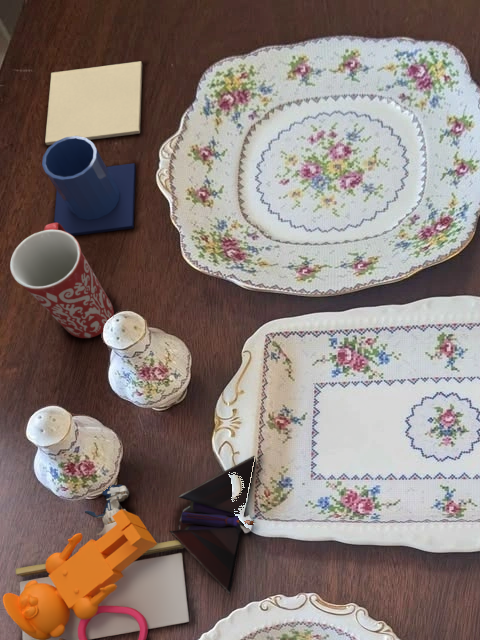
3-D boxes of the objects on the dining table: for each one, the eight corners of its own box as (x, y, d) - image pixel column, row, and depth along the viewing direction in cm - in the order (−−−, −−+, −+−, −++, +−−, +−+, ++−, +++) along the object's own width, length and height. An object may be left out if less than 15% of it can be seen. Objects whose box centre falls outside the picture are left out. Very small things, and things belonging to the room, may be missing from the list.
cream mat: (46, 145, 125) (44, 142, 124) (53, 75, 130) (51, 72, 130) (140, 133, 124) (138, 130, 124) (142, 64, 130) (141, 61, 129)
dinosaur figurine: (151, 547, 97) (136, 483, 103) (126, 535, 94) (113, 470, 99) (116, 567, 98) (104, 504, 104) (91, 557, 95) (79, 491, 100)
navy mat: (54, 238, 118) (52, 235, 117) (59, 175, 122) (57, 172, 122) (133, 228, 118) (132, 225, 117) (135, 165, 122) (134, 163, 122)
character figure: (188, 448, 101) (268, 455, 100) (193, 457, 103) (271, 464, 103) (156, 584, 94) (242, 592, 93) (163, 590, 96) (246, 598, 96)
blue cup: (69, 225, 119) (40, 182, 110) (72, 184, 122) (44, 139, 113) (120, 218, 118) (95, 175, 110) (122, 178, 121) (97, 132, 113)
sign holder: (22, 570, 98) (26, 651, 96) (14, 568, 97) (19, 651, 94) (185, 541, 98) (193, 621, 96) (180, 539, 97) (189, 620, 94)
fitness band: (78, 653, 94) (73, 653, 93) (84, 603, 95) (79, 603, 94) (145, 657, 94) (141, 658, 93) (151, 608, 95) (147, 607, 94)
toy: (175, 562, 95) (143, 550, 88) (57, 657, 95) (15, 654, 87) (135, 504, 98) (101, 488, 91) (21, 596, 98) (-23, 588, 90)
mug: (121, 339, 111) (79, 281, 98) (58, 349, 111) (8, 293, 98) (120, 265, 115) (80, 201, 103) (59, 275, 115) (11, 212, 103)
